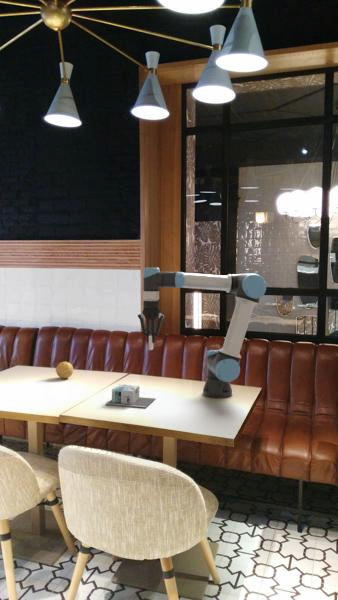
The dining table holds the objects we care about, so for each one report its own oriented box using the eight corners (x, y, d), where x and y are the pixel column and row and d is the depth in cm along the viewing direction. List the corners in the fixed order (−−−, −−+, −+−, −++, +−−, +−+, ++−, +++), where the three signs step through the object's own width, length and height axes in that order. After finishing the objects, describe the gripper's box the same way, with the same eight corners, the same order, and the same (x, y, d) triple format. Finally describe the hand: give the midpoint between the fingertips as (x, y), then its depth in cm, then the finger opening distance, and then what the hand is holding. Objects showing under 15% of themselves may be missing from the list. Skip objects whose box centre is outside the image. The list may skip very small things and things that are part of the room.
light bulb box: (133, 390, 225) (111, 389, 227) (132, 404, 226) (111, 402, 228) (139, 385, 235) (119, 383, 238) (139, 398, 236) (118, 396, 238)
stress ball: (67, 377, 286) (54, 367, 284) (77, 366, 285) (64, 355, 283) (64, 384, 276) (51, 374, 275) (75, 372, 275) (61, 361, 273)
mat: (155, 399, 237) (155, 398, 237) (145, 408, 221) (145, 407, 221) (117, 396, 242) (117, 395, 242) (105, 405, 226) (105, 403, 226)
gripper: (166, 300, 228) (166, 348, 229) (140, 299, 231) (140, 347, 233) (162, 301, 220) (162, 351, 222) (135, 300, 224) (135, 350, 225)
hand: (151, 349), depth 227 cm, fingers closed
